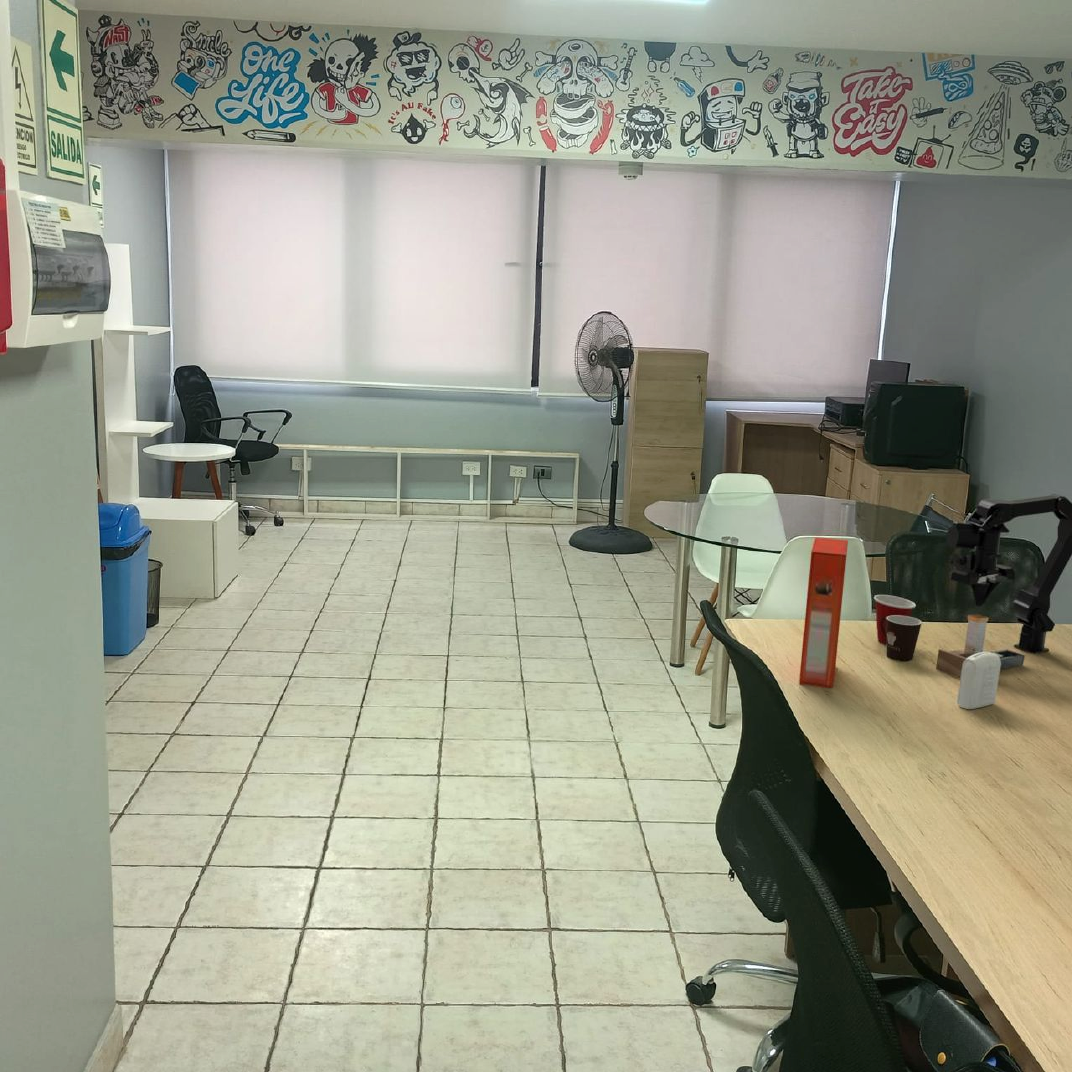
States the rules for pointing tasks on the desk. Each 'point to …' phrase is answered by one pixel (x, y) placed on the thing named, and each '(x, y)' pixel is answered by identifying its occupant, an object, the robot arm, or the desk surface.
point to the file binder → (823, 612)
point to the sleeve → (1010, 659)
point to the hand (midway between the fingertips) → (978, 605)
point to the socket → (950, 661)
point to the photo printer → (979, 680)
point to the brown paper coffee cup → (901, 636)
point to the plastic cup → (890, 611)
